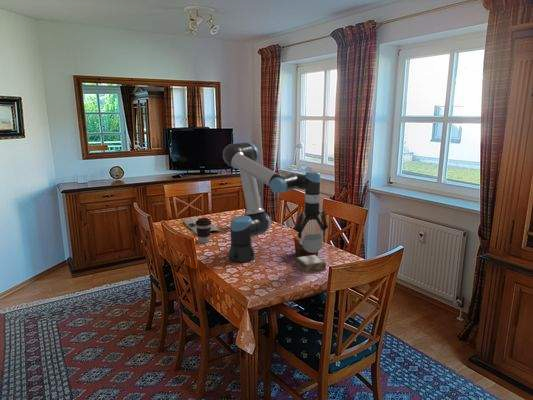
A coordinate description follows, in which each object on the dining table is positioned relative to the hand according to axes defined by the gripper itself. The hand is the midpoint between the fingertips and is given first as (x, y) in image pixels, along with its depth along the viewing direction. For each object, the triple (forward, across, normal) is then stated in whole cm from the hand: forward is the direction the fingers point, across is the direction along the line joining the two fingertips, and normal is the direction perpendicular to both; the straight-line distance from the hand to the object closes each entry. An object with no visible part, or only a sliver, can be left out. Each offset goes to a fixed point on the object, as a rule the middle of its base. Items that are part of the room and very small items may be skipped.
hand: (311, 242), depth 194 cm
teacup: (+4, +1, 0) cm, 4 cm away
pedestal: (+14, 0, 0) cm, 14 cm away
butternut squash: (+13, -7, +79) cm, 81 cm away
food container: (+14, +6, +17) cm, 23 cm away
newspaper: (+14, -41, +93) cm, 103 cm away
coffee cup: (+13, -46, +60) cm, 77 cm away
